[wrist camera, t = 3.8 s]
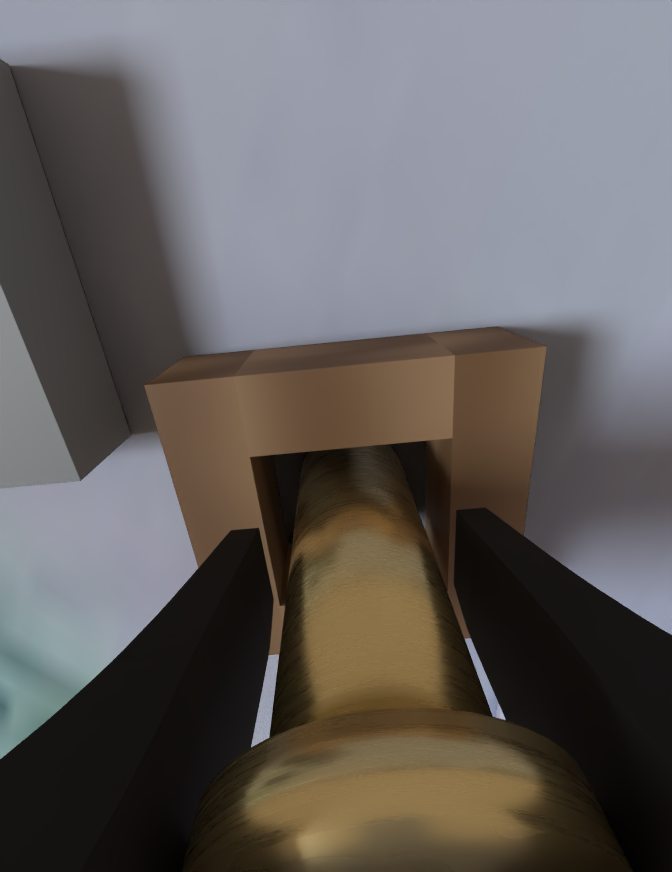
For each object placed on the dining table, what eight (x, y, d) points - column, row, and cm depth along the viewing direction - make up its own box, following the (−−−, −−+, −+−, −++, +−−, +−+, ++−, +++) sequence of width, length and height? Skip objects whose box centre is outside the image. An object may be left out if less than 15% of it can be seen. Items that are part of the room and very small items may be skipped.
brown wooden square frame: (496, 326, 10) (546, 346, 8) (479, 570, 13) (510, 634, 11) (184, 356, 10) (144, 385, 8) (242, 590, 14) (225, 658, 11)
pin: (425, 400, 11) (705, 798, 3) (425, 531, 13) (598, 1003, 5) (265, 415, 11) (98, 844, 3) (288, 543, 13) (222, 1030, 5)
